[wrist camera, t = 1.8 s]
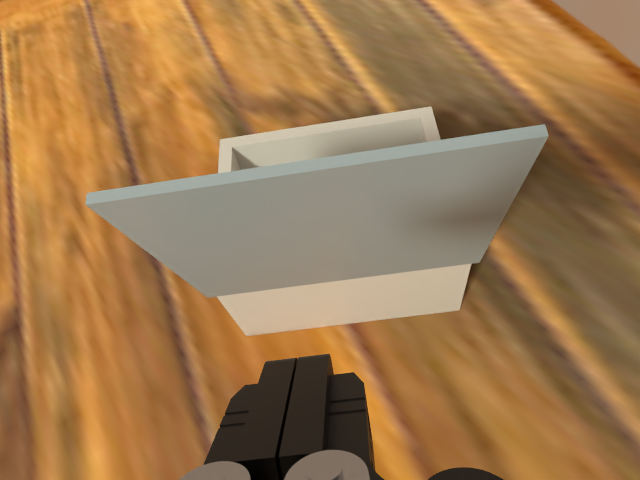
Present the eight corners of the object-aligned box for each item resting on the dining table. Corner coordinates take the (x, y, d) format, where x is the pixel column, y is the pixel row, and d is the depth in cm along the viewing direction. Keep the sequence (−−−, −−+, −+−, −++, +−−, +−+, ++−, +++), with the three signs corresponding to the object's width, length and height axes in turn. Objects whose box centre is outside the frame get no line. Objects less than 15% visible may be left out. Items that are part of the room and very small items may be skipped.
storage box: (426, 175, 53) (431, 106, 44) (459, 310, 44) (473, 256, 36) (248, 201, 54) (220, 139, 46) (246, 336, 46) (211, 290, 37)
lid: (544, 124, 21) (548, 136, 20) (477, 255, 36) (479, 262, 35) (86, 193, 22) (85, 204, 22) (207, 290, 37) (207, 297, 37)
